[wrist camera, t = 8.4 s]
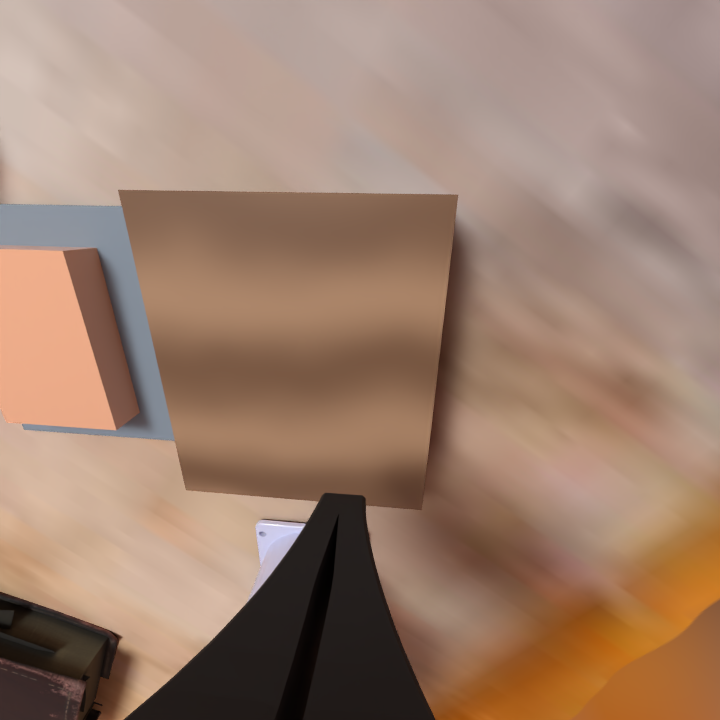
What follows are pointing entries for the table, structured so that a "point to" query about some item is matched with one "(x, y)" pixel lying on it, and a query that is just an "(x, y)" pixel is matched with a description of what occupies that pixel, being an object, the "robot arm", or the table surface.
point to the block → (60, 341)
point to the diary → (50, 662)
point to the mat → (116, 257)
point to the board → (296, 336)
